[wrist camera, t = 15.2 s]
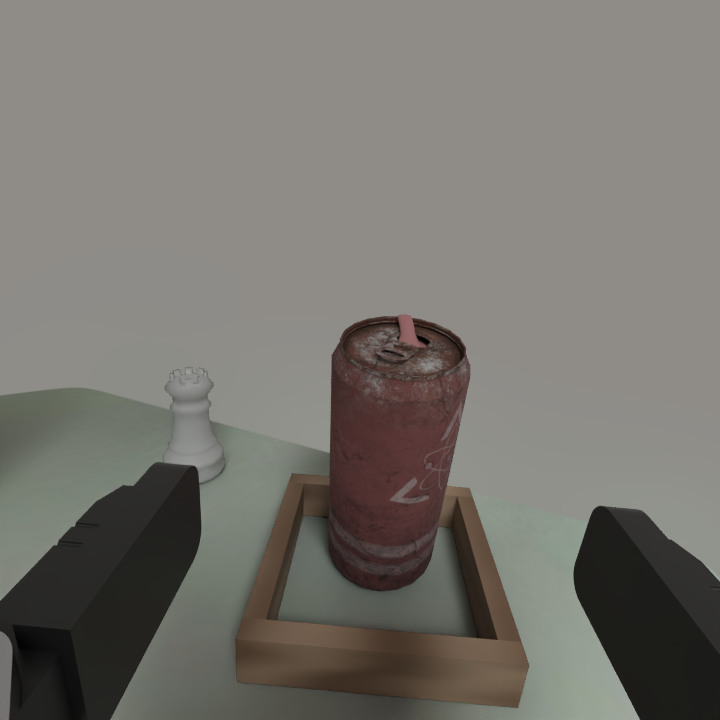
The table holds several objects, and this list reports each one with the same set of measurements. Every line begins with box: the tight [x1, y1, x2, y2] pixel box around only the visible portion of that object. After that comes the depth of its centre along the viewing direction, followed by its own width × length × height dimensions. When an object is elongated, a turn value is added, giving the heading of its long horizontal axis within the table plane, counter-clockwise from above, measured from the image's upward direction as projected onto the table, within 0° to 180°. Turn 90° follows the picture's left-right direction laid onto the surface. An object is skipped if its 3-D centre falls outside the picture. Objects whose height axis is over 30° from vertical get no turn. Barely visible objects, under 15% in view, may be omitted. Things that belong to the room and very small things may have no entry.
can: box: [329, 315, 470, 591], centre depth 22 cm, size 6×6×14 cm
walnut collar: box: [236, 473, 529, 708], centre depth 24 cm, size 12×12×2 cm
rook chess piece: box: [163, 367, 225, 485], centre depth 31 cm, size 4×4×8 cm
